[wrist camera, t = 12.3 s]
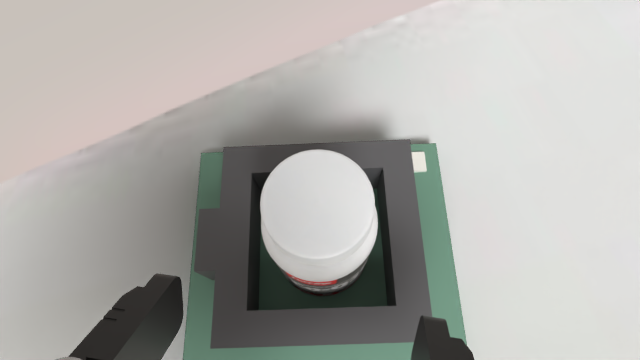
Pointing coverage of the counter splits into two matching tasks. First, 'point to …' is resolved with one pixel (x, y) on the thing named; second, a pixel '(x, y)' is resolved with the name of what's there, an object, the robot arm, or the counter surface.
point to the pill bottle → (319, 220)
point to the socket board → (305, 309)
